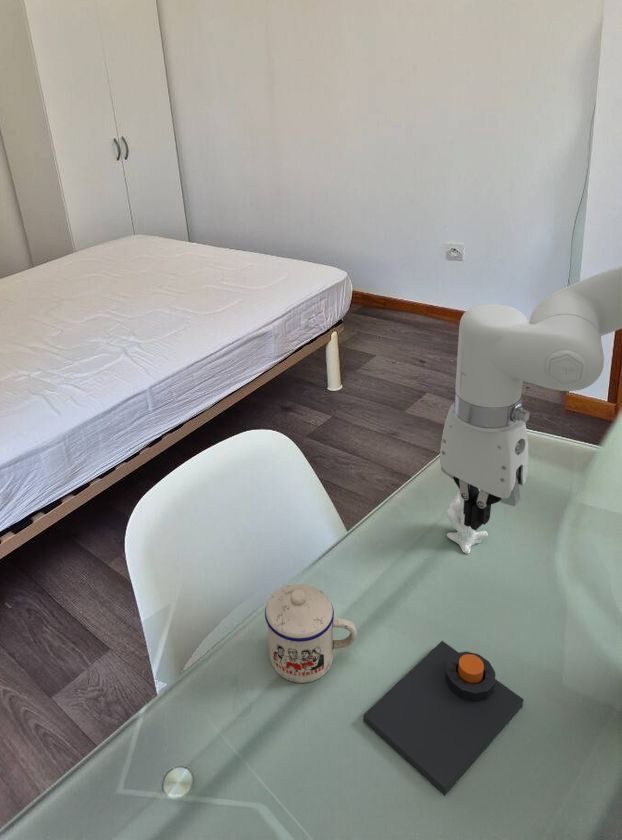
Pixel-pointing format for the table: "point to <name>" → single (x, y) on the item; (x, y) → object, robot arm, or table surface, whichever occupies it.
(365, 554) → the table surface
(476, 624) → the table surface
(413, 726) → the black push button board
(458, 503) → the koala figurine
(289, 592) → the teacup with lid
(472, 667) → the button
